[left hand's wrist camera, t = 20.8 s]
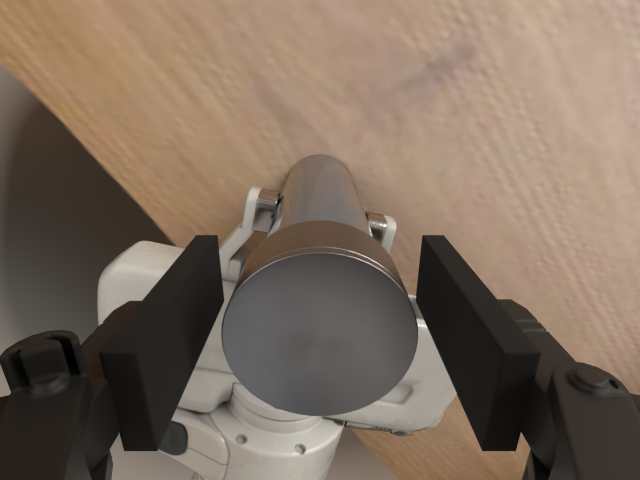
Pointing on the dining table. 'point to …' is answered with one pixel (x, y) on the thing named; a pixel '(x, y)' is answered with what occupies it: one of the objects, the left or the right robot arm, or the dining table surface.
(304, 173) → the grey cylinder
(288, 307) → the lid
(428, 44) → the dining table surface
